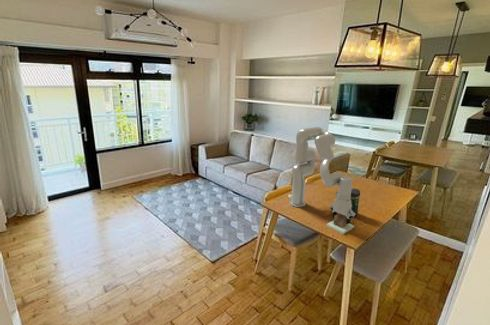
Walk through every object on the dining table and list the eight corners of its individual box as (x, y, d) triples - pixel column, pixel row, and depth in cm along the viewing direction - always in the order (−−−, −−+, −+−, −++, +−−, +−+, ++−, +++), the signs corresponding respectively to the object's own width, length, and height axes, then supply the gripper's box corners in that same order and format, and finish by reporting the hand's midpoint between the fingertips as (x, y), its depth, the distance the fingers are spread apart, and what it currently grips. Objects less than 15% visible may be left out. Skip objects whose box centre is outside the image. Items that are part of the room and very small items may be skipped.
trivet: (326, 226, 166) (326, 223, 166) (337, 220, 173) (337, 217, 173) (343, 234, 157) (343, 232, 157) (353, 227, 164) (353, 225, 164)
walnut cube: (333, 224, 165) (334, 215, 163) (338, 221, 169) (339, 213, 167) (341, 228, 161) (342, 219, 159) (346, 225, 164) (348, 216, 162)
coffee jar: (348, 209, 187) (351, 186, 181) (359, 213, 182) (362, 189, 176) (341, 214, 181) (344, 190, 175) (352, 218, 175) (356, 193, 170)
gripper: (328, 193, 163) (325, 217, 168) (353, 202, 150) (350, 228, 155) (335, 190, 167) (332, 213, 172) (360, 199, 154) (356, 224, 159)
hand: (340, 220), depth 164 cm, fingers open, 9 cm apart
